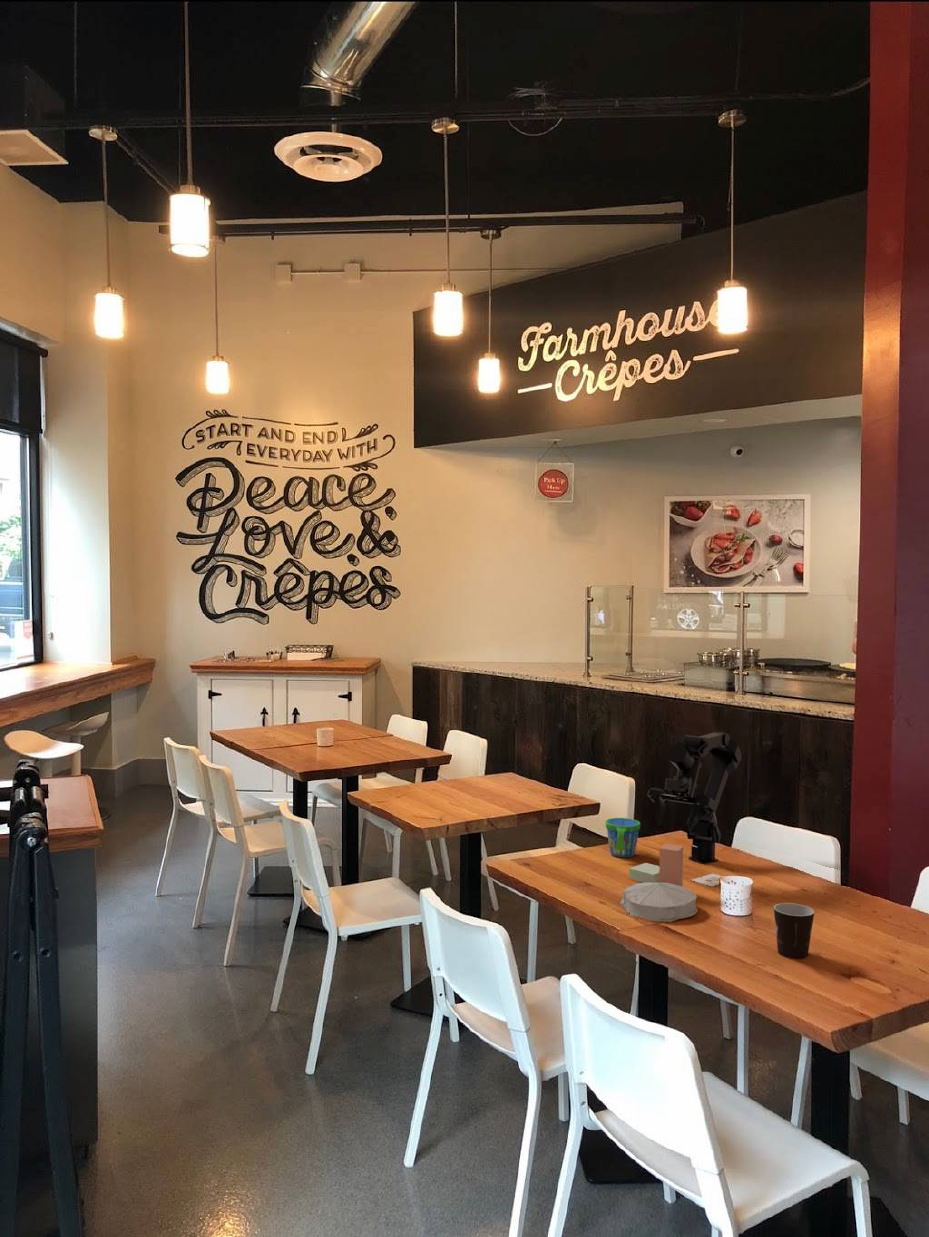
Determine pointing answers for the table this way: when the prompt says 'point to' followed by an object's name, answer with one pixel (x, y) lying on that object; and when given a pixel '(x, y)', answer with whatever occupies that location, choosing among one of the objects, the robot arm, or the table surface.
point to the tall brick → (671, 864)
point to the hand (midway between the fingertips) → (673, 827)
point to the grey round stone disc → (659, 901)
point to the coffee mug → (793, 929)
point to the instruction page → (708, 880)
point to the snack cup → (622, 836)
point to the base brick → (644, 873)
